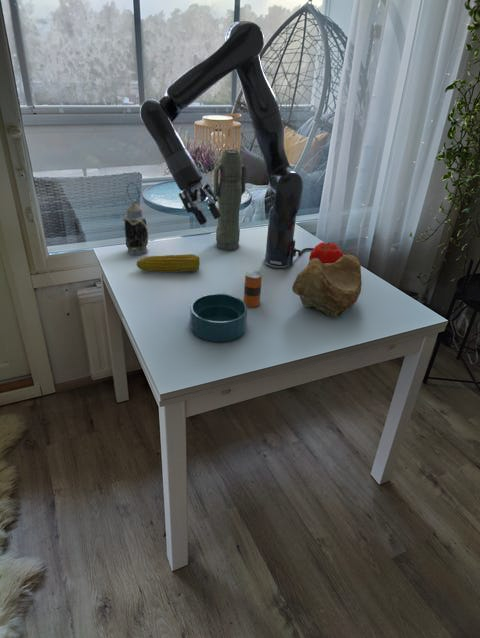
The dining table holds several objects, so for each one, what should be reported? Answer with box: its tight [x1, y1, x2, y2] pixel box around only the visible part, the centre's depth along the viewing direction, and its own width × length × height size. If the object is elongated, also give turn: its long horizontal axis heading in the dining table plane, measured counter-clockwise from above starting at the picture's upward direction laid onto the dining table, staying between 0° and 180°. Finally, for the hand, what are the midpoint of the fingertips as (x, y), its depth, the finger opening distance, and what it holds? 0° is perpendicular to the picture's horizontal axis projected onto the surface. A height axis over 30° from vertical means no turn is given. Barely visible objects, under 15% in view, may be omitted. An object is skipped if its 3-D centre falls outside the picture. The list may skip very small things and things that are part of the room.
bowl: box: [189, 293, 248, 343], centre depth 121 cm, size 15×15×6 cm
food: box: [136, 253, 201, 273], centre depth 148 cm, size 21×6×6 cm, turn 98°
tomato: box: [308, 241, 345, 264], centre depth 155 cm, size 11×12×9 cm
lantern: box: [122, 182, 149, 256], centre depth 156 cm, size 9×8×25 cm
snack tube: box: [243, 269, 263, 308], centre depth 132 cm, size 5×5×10 cm
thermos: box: [213, 149, 247, 252], centre depth 162 cm, size 9×12×35 cm
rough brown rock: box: [291, 253, 362, 319], centre depth 131 cm, size 23×17×15 cm
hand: (211, 220), depth 129 cm, fingers open, 8 cm apart
